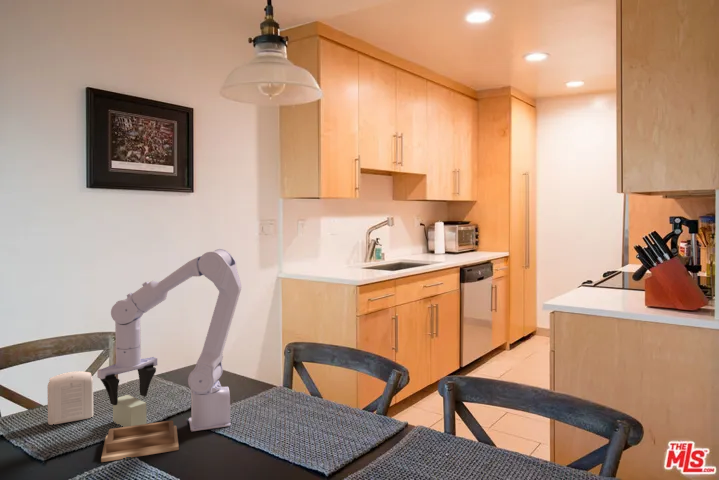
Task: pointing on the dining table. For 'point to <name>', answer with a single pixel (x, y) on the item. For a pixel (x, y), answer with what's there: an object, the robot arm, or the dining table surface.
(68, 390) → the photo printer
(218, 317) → the robot arm
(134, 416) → the beige block
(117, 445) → the slot board
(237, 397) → the dining table surface
